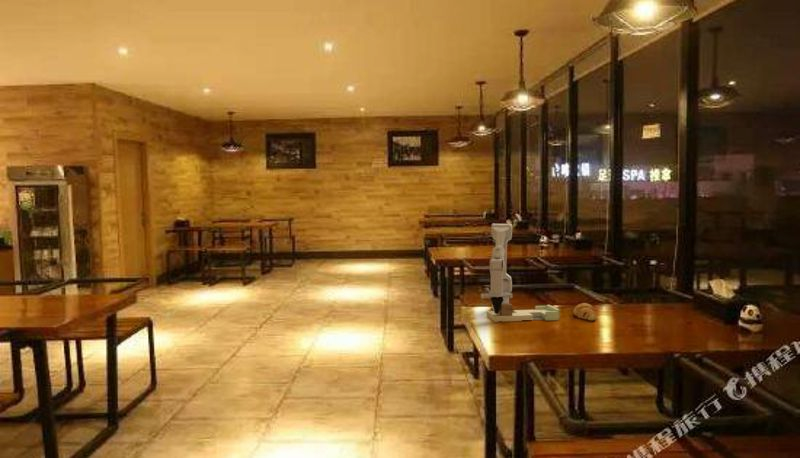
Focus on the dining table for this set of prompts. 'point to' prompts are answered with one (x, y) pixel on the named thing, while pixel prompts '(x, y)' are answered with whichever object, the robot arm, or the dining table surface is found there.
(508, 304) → the walnut block
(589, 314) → the croissant
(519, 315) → the board
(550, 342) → the dining table surface
